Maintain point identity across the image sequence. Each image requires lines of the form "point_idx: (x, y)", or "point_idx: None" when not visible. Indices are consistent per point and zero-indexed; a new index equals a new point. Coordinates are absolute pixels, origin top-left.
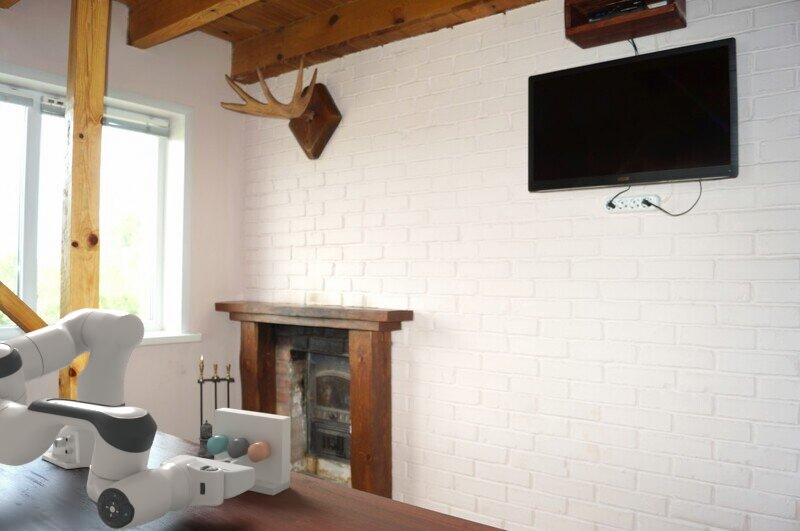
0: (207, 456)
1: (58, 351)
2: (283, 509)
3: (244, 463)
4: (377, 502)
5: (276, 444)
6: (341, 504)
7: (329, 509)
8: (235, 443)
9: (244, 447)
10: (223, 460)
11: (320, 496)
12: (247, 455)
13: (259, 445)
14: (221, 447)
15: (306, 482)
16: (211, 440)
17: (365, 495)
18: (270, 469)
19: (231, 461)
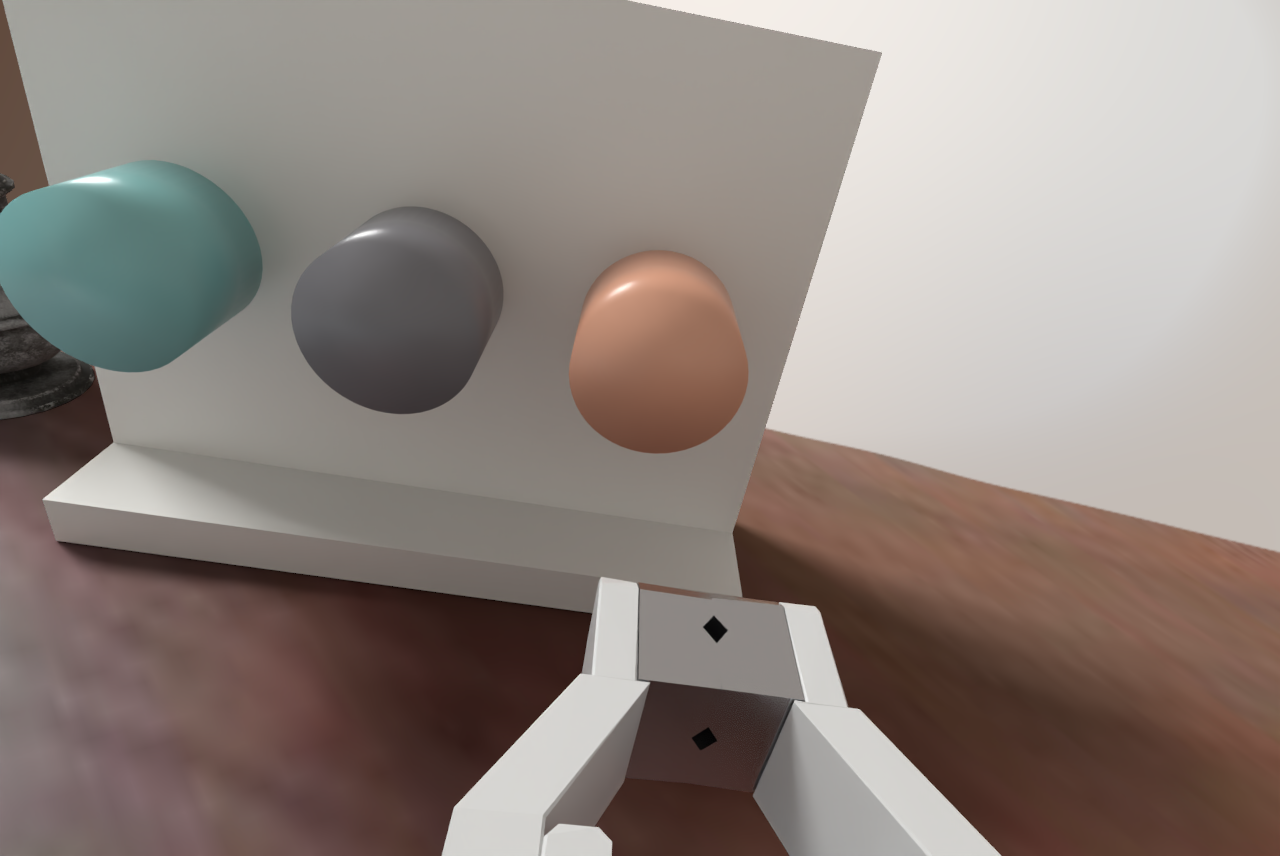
0: (2, 323)
1: None
2: (1019, 831)
3: None
4: (1217, 569)
5: (752, 278)
6: (1152, 633)
7: (1201, 716)
8: (408, 273)
9: (489, 307)
10: (634, 706)
11: (960, 573)
12: None
13: (714, 304)
14: (205, 301)
15: None
16: (47, 223)
17: (1090, 518)
18: None
19: (797, 700)
